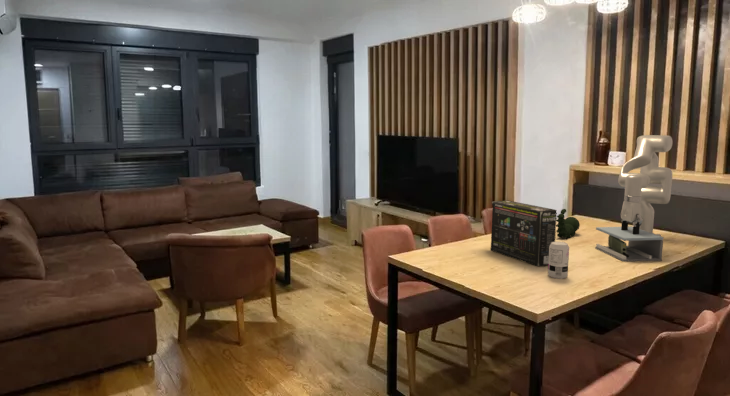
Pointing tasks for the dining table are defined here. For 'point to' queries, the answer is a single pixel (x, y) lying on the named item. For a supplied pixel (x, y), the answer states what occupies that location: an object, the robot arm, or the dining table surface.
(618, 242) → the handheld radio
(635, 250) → the grey sloped stand
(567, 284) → the dining table surface
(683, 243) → the dining table surface
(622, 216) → the robot arm
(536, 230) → the router box
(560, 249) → the supplement can
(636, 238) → the cover
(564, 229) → the toy figurine
